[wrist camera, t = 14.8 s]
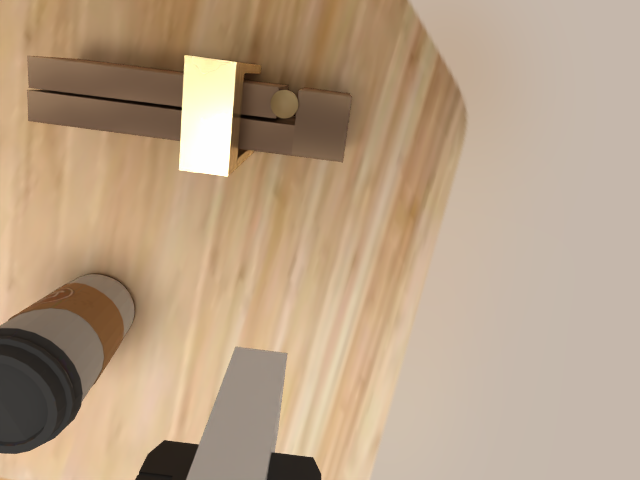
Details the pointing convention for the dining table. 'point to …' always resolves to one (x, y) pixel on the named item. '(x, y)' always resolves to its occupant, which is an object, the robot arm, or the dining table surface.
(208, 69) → the lock collar
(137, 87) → the tong arm
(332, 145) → the base
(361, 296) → the dining table surface
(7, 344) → the coffee cup
